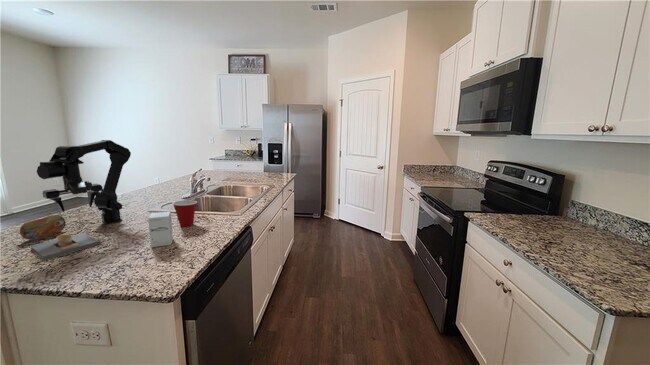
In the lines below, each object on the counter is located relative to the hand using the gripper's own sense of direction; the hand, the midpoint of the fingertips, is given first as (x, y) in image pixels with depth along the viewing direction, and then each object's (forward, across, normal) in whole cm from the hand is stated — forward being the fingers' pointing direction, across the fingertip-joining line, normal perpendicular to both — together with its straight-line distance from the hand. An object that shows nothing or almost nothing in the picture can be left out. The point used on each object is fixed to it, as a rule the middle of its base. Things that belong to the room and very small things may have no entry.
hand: (77, 209), depth 119 cm
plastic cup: (+11, +32, -30) cm, 45 cm away
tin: (+11, -10, +8) cm, 17 cm away
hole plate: (+11, -9, -14) cm, 20 cm away
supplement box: (+11, +14, -42) cm, 46 cm away
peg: (+11, -9, -14) cm, 20 cm away
